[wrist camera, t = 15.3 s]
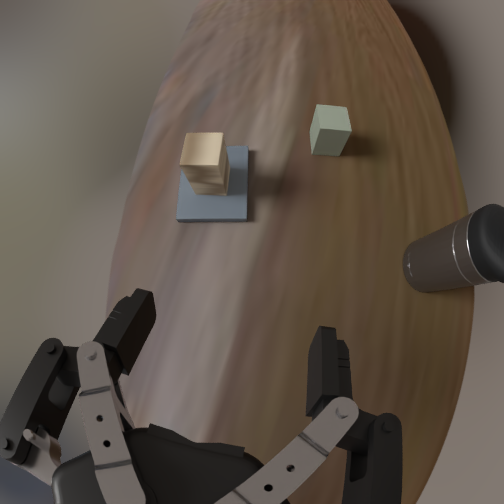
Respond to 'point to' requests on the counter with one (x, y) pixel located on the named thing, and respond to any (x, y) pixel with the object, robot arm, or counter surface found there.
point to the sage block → (329, 130)
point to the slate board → (215, 205)
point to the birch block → (206, 163)
